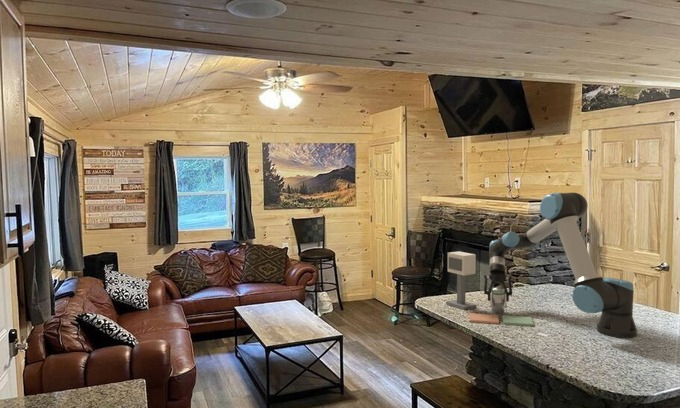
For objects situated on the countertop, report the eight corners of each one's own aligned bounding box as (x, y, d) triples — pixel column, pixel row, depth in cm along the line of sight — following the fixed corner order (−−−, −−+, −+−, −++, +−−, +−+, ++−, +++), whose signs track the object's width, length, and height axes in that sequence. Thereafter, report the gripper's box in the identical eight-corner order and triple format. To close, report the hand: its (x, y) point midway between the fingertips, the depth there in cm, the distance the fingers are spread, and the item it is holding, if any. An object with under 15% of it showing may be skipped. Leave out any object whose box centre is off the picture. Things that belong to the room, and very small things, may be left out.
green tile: (533, 326, 224) (533, 324, 224) (503, 324, 227) (503, 322, 227) (531, 319, 235) (531, 317, 235) (502, 317, 238) (502, 315, 238)
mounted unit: (463, 310, 251) (463, 256, 249) (445, 304, 262) (446, 252, 261) (476, 307, 256) (477, 254, 254) (458, 301, 267) (459, 251, 265)
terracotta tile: (498, 323, 228) (498, 321, 228) (469, 321, 231) (469, 319, 231) (497, 317, 239) (497, 315, 239) (469, 315, 242) (469, 313, 242)
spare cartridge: (504, 314, 243) (505, 290, 242) (491, 313, 245) (492, 289, 244) (504, 311, 249) (504, 287, 248) (491, 310, 250) (491, 286, 250)
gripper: (516, 272, 258) (518, 311, 243) (478, 270, 263) (478, 309, 248) (517, 263, 252) (519, 303, 238) (478, 262, 257) (478, 301, 243)
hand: (498, 306), depth 243 cm, fingers closed on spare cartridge, 6 cm apart
